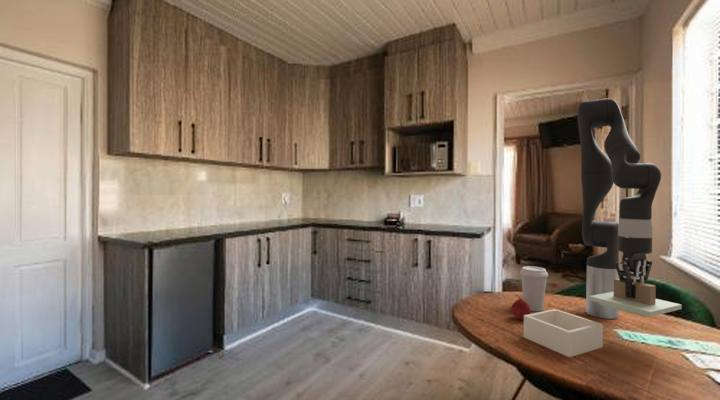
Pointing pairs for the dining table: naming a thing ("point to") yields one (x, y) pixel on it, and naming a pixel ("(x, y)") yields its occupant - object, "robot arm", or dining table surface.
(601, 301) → the lid
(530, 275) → the coffee cup
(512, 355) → the dining table surface
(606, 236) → the robot arm
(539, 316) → the box
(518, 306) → the onion
